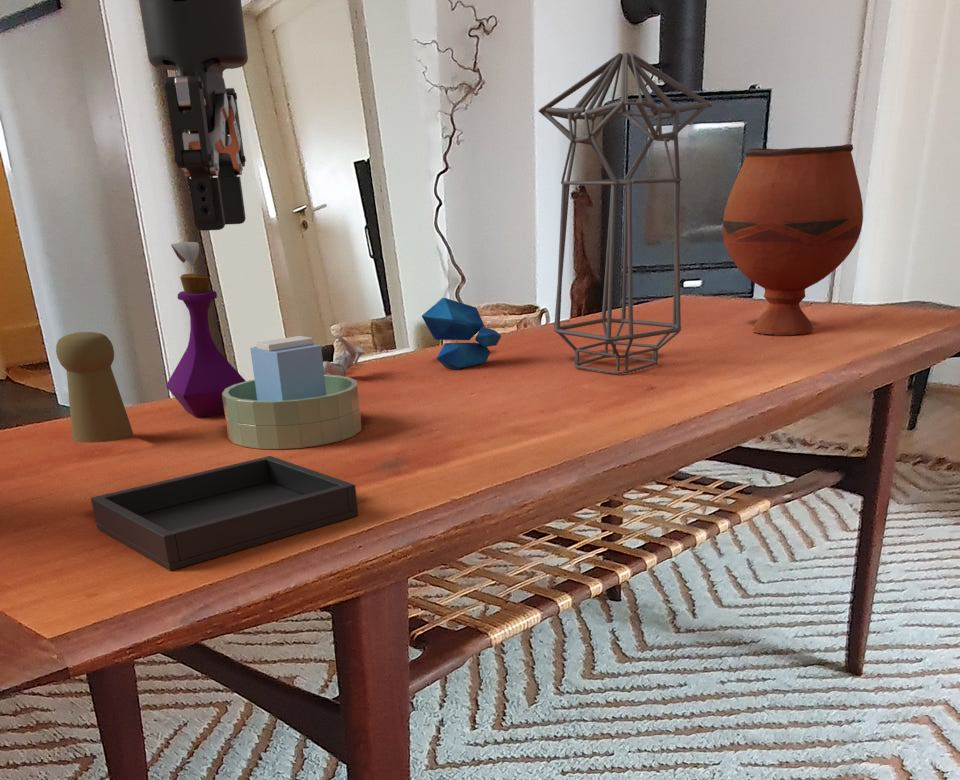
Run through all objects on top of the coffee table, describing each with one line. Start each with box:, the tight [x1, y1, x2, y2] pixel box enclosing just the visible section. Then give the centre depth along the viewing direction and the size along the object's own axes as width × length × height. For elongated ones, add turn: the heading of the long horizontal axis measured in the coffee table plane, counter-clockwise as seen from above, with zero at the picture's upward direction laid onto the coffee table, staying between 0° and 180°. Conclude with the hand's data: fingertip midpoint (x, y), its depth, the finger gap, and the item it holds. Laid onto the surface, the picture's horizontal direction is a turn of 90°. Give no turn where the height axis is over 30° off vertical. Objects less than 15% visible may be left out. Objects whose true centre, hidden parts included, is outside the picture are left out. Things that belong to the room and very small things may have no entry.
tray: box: [90, 455, 359, 572], centre depth 74 cm, size 16×13×2 cm
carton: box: [249, 335, 326, 401], centre depth 96 cm, size 5×5×9 cm
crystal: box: [421, 297, 502, 370], centre depth 128 cm, size 7×9×12 cm
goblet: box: [721, 143, 864, 336], centre depth 140 cm, size 19×19×25 cm
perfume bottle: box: [165, 241, 246, 419], centre depth 104 cm, size 8×8×18 cm
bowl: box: [222, 374, 362, 450], centre depth 97 cm, size 13×13×5 cm
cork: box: [55, 331, 135, 444], centre depth 95 cm, size 6×6×11 cm
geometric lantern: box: [538, 52, 713, 375], centre depth 118 cm, size 16×16×35 cm
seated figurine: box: [323, 335, 366, 377], centre depth 122 cm, size 8×5×12 cm
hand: (222, 226), depth 80 cm, fingers open, 8 cm apart
